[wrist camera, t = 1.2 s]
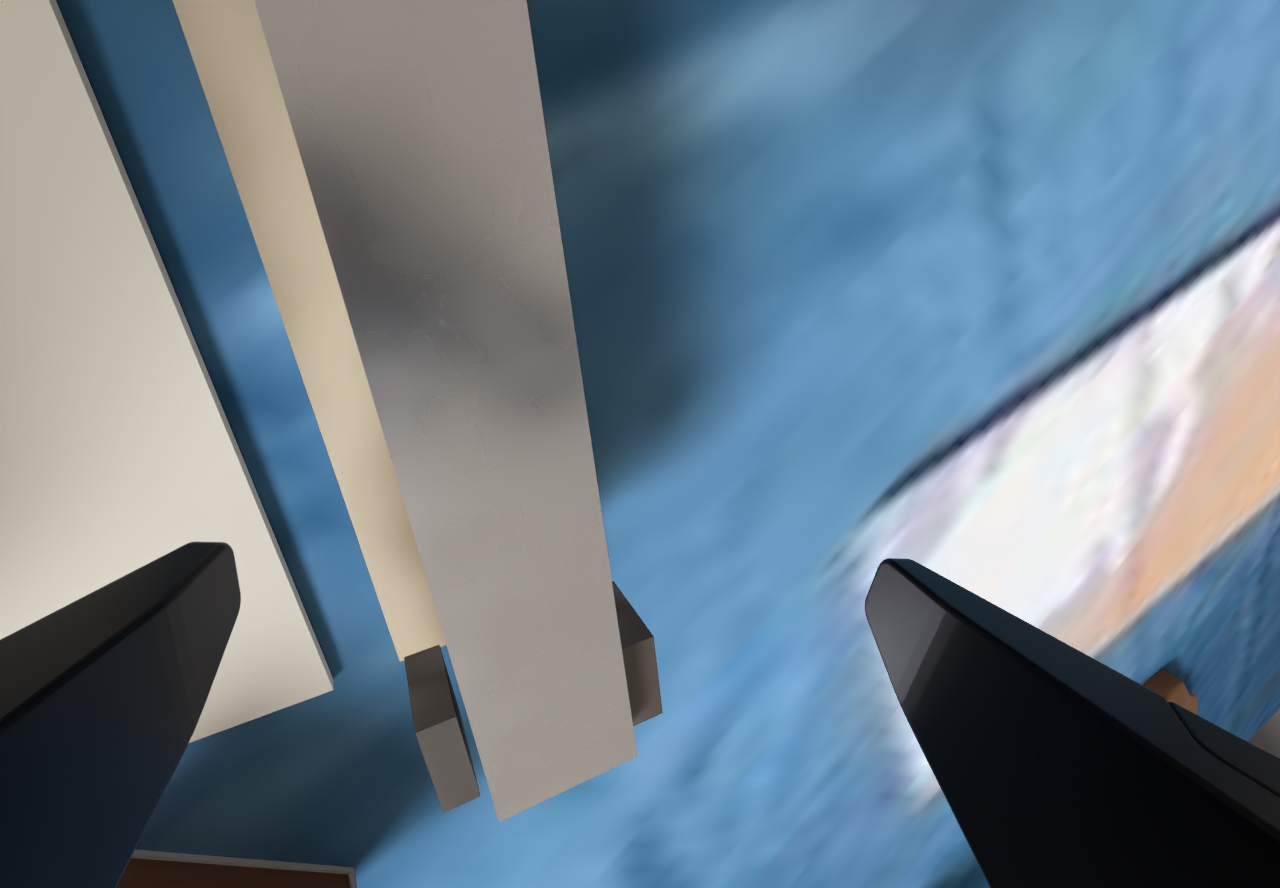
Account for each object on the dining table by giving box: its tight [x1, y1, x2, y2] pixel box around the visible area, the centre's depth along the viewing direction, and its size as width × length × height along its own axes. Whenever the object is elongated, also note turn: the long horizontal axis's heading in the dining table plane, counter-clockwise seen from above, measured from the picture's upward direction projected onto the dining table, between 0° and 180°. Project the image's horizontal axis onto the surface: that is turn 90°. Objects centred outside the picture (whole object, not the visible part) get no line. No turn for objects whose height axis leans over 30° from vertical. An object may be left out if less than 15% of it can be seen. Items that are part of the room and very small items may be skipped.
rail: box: [254, 0, 637, 822], centre depth 14 cm, size 4×23×4 cm, turn 6°
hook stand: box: [173, 0, 662, 813], centre depth 17 cm, size 8×25×9 cm, turn 6°
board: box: [0, 0, 333, 743], centre depth 16 cm, size 9×26×1 cm, turn 6°
